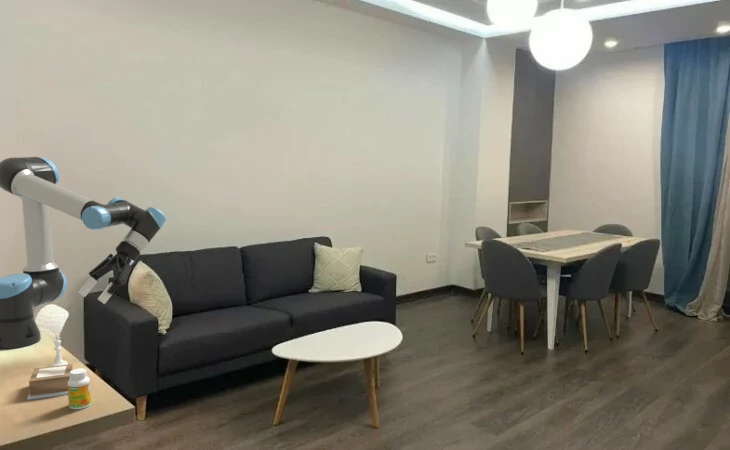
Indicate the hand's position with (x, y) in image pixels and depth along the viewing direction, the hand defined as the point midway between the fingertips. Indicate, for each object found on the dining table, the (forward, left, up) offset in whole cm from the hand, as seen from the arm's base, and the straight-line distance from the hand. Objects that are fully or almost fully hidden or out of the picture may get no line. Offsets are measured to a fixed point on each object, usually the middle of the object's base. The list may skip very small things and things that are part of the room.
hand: (90, 298), depth 190 cm
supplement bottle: (+39, -2, -20) cm, 44 cm away
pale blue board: (+21, -10, -20) cm, 30 cm away
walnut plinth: (+24, -10, -20) cm, 32 cm away
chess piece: (+5, -10, -20) cm, 23 cm away
